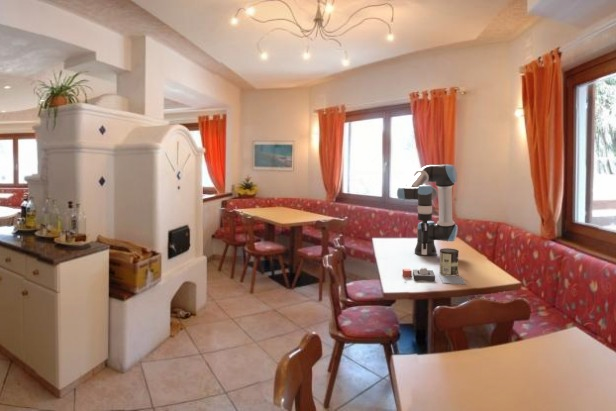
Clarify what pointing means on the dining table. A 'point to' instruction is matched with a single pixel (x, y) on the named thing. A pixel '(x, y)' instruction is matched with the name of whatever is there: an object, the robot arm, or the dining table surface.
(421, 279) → the popper frame
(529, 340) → the dining table surface
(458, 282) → the square pad
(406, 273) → the die
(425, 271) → the dome
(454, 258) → the coffee can
